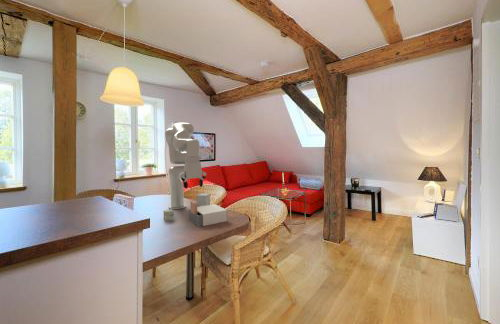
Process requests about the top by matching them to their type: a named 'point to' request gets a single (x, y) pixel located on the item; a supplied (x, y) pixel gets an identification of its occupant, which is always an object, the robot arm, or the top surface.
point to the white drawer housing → (212, 214)
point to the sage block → (168, 215)
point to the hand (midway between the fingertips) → (193, 187)
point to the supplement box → (203, 199)
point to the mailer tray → (195, 214)
